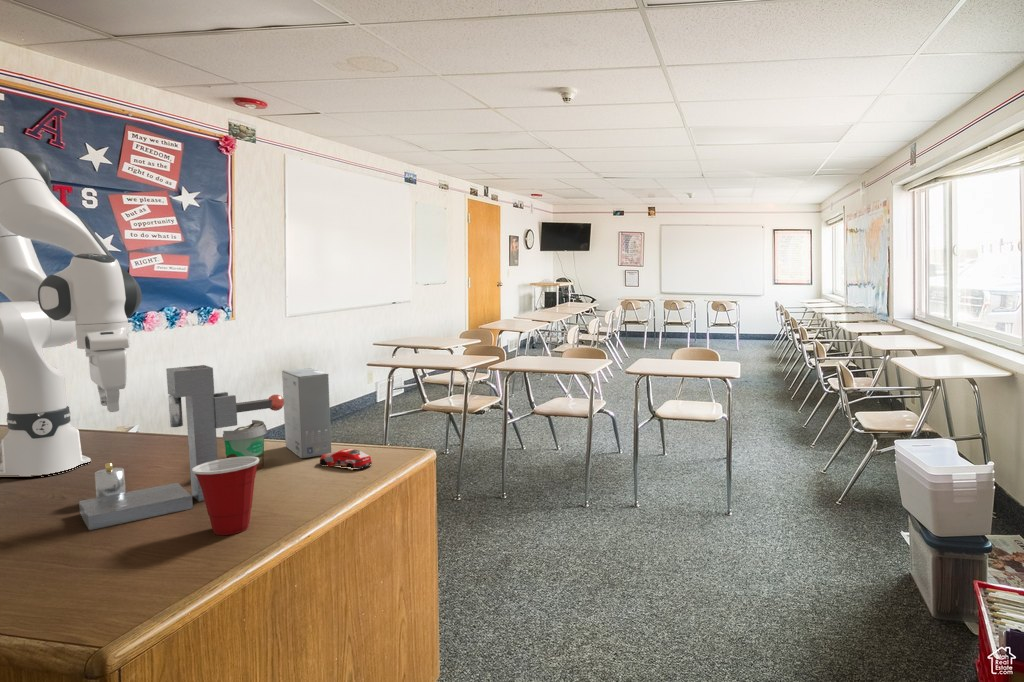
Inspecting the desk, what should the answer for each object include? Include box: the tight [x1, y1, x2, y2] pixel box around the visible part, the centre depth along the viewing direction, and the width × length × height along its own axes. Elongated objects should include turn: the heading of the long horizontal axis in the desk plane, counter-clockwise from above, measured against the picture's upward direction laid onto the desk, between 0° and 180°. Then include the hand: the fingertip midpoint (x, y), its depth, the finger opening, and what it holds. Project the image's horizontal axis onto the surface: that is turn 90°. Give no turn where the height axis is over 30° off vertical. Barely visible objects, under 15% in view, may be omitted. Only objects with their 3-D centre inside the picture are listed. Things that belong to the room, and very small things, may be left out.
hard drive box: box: [281, 367, 333, 459], centre depth 174 cm, size 16×8×20 cm, turn 32°
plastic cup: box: [192, 457, 259, 536], centre depth 121 cm, size 11×11×12 cm
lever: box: [236, 394, 284, 414], centre depth 144 cm, size 3×14×3 cm, turn 129°
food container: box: [222, 419, 268, 472], centre depth 159 cm, size 12×6×10 cm, turn 168°
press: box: [78, 364, 238, 531], centre depth 133 cm, size 11×27×26 cm, turn 129°
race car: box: [319, 448, 373, 469], centre depth 160 cm, size 13×5×4 cm, turn 61°
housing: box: [94, 462, 127, 498], centre depth 138 cm, size 5×5×8 cm
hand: (109, 408), depth 137 cm, fingers open, 8 cm apart
